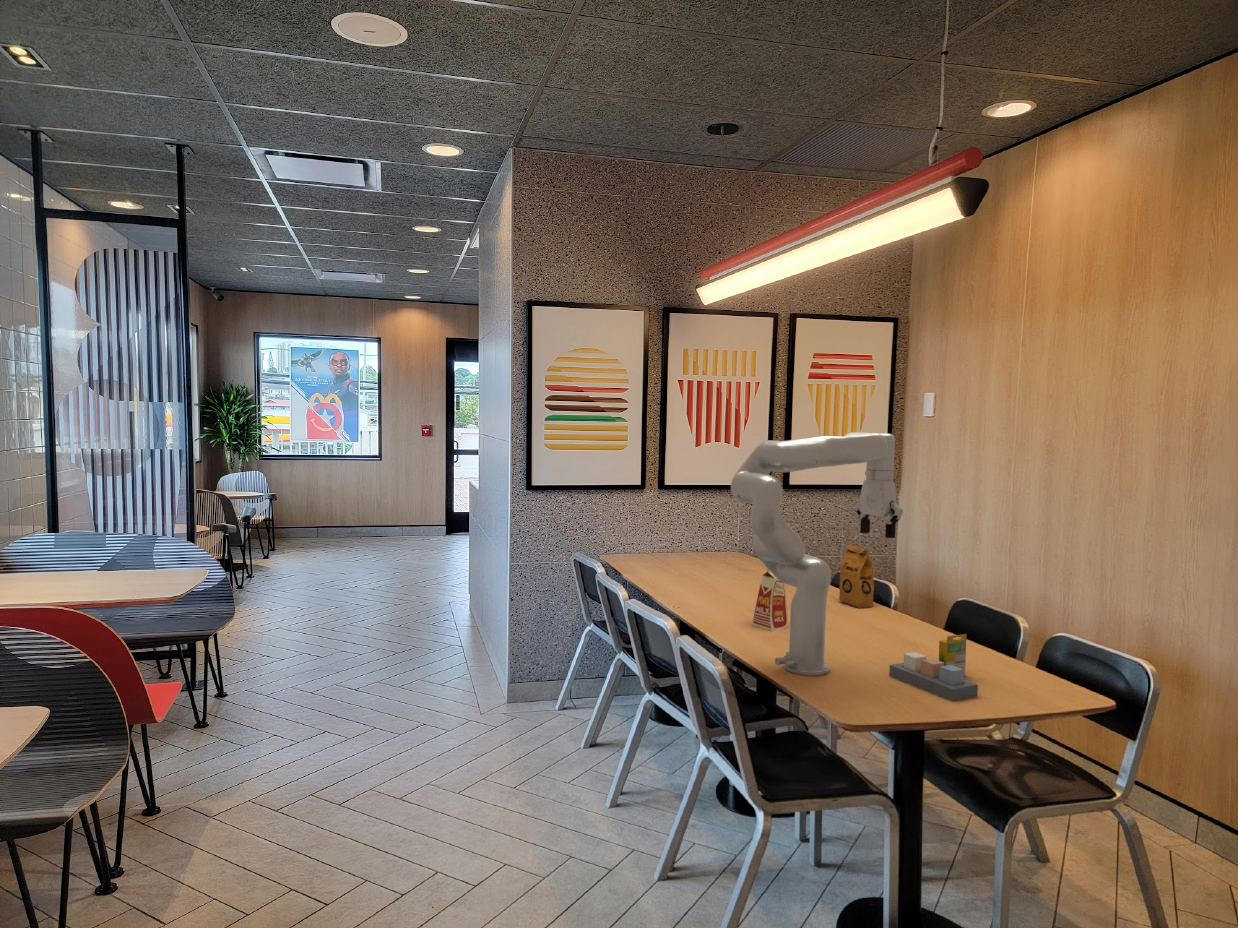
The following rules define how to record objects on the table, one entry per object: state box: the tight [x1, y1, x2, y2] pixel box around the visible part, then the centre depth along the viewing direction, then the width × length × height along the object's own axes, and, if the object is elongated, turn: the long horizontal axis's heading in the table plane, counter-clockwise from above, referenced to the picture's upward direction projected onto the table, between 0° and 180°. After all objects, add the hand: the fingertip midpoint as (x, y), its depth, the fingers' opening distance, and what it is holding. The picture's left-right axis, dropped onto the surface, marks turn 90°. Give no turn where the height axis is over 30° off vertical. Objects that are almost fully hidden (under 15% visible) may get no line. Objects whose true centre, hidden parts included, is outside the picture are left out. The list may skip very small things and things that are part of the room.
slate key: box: [939, 665, 964, 686], centre depth 203 cm, size 4×4×4 cm
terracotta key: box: [921, 657, 944, 678], centre depth 208 cm, size 4×4×4 cm
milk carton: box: [751, 567, 789, 632], centre depth 265 cm, size 9×9×20 cm
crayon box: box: [938, 633, 968, 677], centre depth 217 cm, size 7×3×12 cm, turn 113°
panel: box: [888, 662, 979, 702], centre depth 208 cm, size 9×21×3 cm, turn 26°
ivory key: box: [903, 651, 927, 672], centre depth 214 cm, size 4×4×4 cm
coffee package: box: [838, 544, 875, 609], centre depth 299 cm, size 10×12×22 cm
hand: (877, 535), depth 228 cm, fingers open, 9 cm apart
